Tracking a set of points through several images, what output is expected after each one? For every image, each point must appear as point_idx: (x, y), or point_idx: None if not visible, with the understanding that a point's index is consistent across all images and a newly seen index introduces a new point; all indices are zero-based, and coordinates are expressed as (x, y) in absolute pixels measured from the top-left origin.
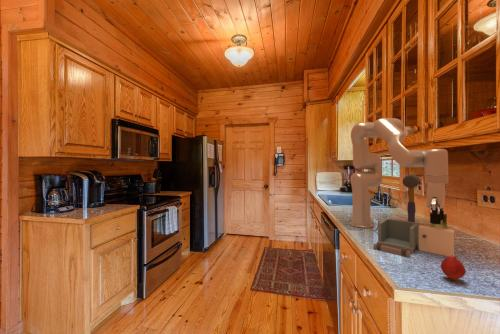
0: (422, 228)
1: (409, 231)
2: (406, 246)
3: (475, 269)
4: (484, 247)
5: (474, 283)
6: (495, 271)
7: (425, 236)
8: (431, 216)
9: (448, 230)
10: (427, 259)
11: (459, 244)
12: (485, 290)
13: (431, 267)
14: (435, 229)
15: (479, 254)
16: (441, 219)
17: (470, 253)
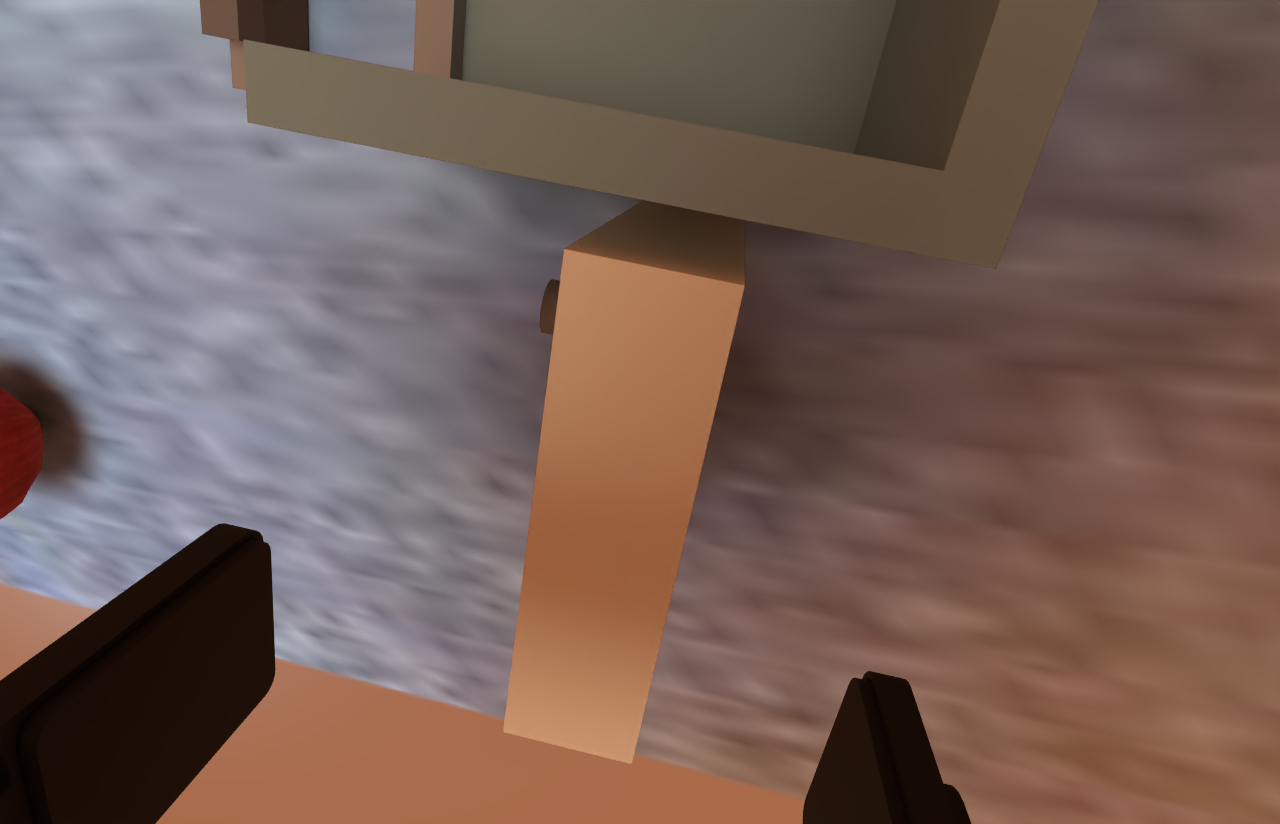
0: (562, 317)
1: (919, 46)
2: (573, 33)
3: (380, 598)
4: (1118, 821)
5: (91, 529)
6: (434, 700)
7: (542, 326)
8: (76, 663)
9: (561, 694)
10: (358, 277)
11: (1151, 654)
12: (33, 558)
13: (162, 296)
14: (533, 529)
15: (830, 723)
16: (808, 791)
17: (822, 667)
